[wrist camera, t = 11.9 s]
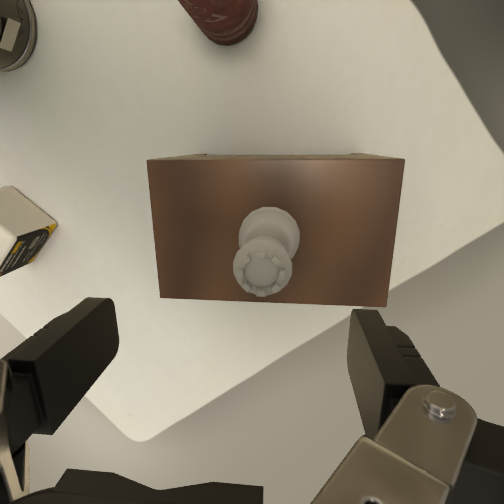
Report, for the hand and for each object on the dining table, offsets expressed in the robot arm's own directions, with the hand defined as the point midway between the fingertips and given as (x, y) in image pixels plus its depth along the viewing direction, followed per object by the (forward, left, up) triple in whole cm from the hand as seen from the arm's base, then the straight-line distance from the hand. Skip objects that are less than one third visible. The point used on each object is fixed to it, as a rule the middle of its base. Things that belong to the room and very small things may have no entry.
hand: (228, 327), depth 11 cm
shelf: (+1, -1, -28) cm, 28 cm away
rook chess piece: (+1, -1, -15) cm, 15 cm away
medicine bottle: (-31, -4, -29) cm, 43 cm away
